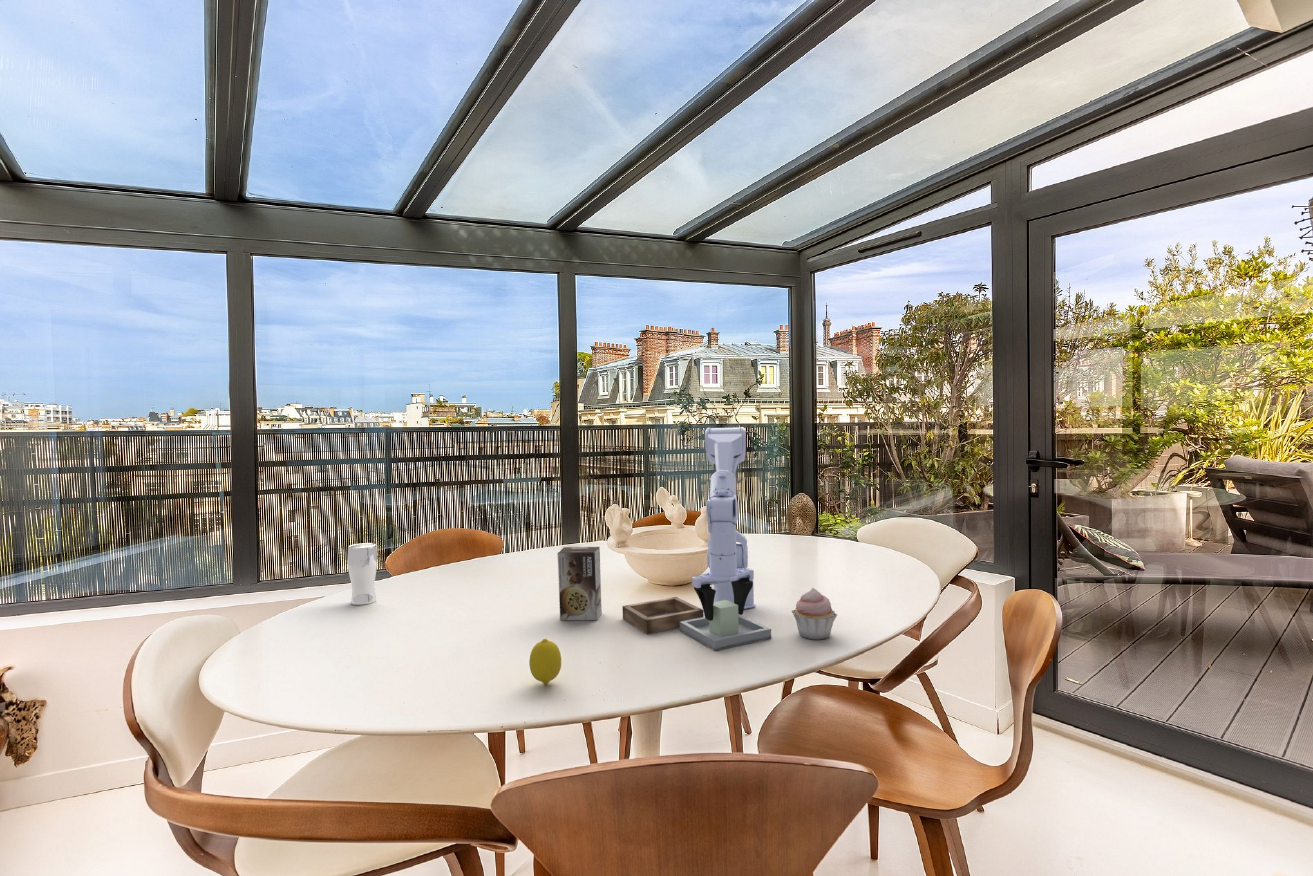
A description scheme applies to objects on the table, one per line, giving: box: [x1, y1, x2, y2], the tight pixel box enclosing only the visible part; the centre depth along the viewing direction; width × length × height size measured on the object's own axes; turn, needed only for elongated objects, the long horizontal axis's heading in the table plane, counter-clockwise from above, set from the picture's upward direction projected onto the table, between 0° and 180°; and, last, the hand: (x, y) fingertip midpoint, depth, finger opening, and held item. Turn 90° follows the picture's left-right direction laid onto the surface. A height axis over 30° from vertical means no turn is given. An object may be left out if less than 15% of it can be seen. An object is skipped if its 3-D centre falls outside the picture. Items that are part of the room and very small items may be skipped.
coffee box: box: [557, 546, 603, 621], centre depth 146 cm, size 9×6×16 cm
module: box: [709, 600, 739, 637], centre depth 132 cm, size 4×4×6 cm
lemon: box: [528, 638, 562, 685], centre depth 108 cm, size 6×6×8 cm
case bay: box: [622, 596, 704, 635], centre depth 142 cm, size 14×12×3 cm
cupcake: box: [791, 587, 838, 640], centre depth 130 cm, size 9×9×10 cm
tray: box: [679, 614, 772, 652], centre depth 132 cm, size 14×14×2 cm
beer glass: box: [347, 542, 378, 606], centre depth 162 cm, size 7×7×15 cm
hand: (724, 616), depth 132 cm, fingers open, 7 cm apart
